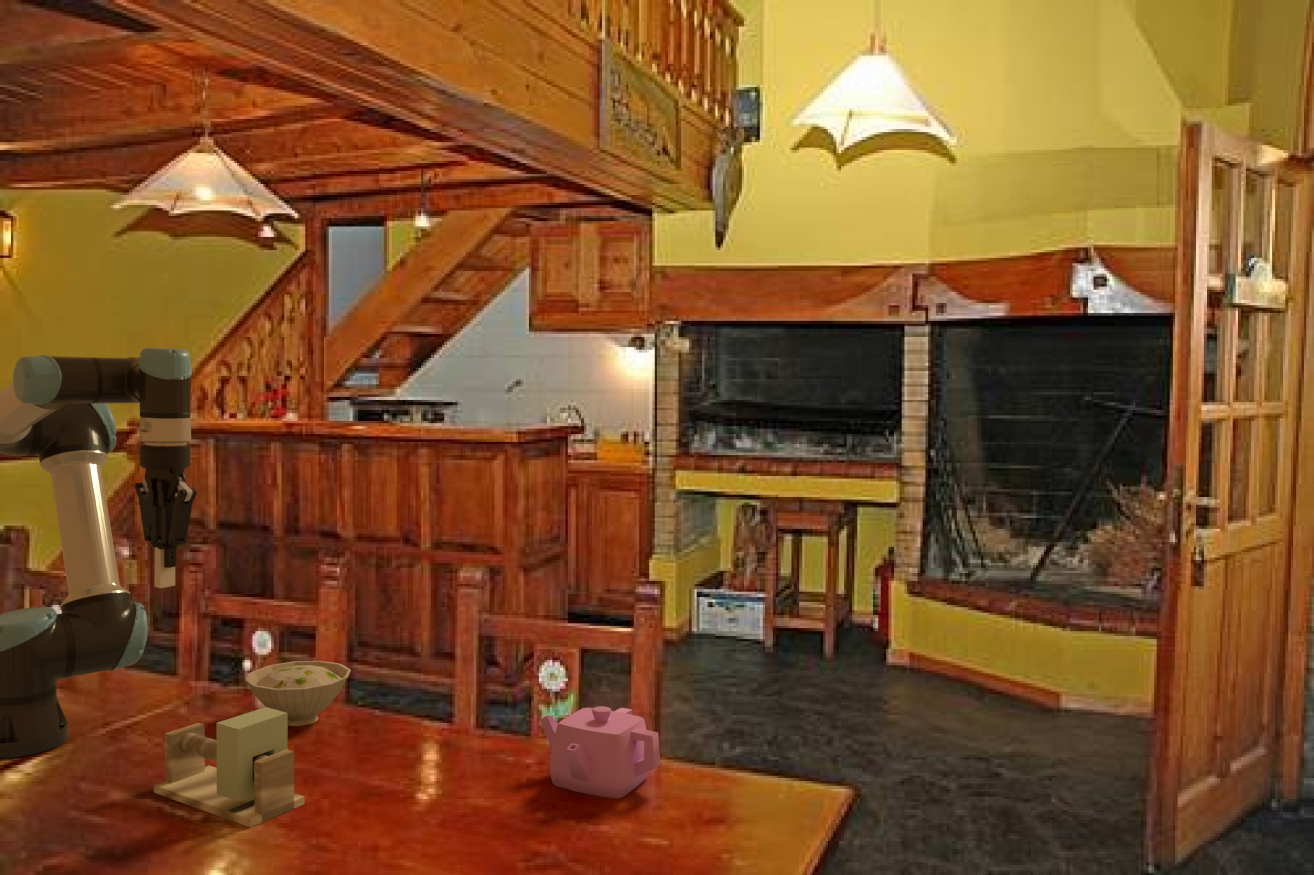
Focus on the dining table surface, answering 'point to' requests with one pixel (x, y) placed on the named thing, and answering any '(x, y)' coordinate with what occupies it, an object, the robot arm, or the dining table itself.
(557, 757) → the teakettle
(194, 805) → the rail stand
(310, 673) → the bowl
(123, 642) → the robot arm
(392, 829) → the dining table surface
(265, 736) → the square sliding block
